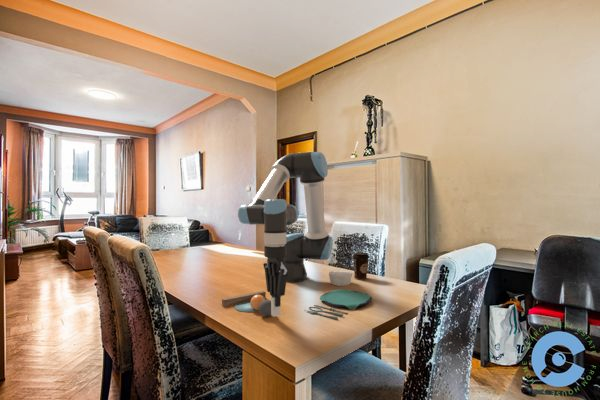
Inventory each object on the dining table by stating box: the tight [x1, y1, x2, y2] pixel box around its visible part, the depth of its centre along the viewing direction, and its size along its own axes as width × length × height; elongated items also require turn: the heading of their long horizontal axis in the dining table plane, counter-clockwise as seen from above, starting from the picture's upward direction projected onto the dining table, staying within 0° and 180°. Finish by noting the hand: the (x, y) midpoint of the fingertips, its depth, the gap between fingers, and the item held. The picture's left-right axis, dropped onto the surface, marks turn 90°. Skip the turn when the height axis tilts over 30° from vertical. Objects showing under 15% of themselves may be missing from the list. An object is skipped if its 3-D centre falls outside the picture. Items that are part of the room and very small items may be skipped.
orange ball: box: [250, 295, 266, 310], centre depth 114 cm, size 6×6×6 cm
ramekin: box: [328, 270, 353, 287], centre depth 149 cm, size 11×11×5 cm
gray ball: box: [258, 299, 271, 318], centre depth 108 cm, size 6×6×6 cm
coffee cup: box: [352, 252, 370, 281], centre depth 159 cm, size 9×8×13 cm
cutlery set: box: [305, 288, 372, 321], centre depth 120 cm, size 20×30×2 cm, turn 141°
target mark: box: [234, 301, 259, 313], centre depth 118 cm, size 13×13×1 cm
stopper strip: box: [221, 290, 267, 308], centre depth 123 cm, size 2×18×2 cm, turn 125°
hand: (275, 315), depth 103 cm, fingers closed
